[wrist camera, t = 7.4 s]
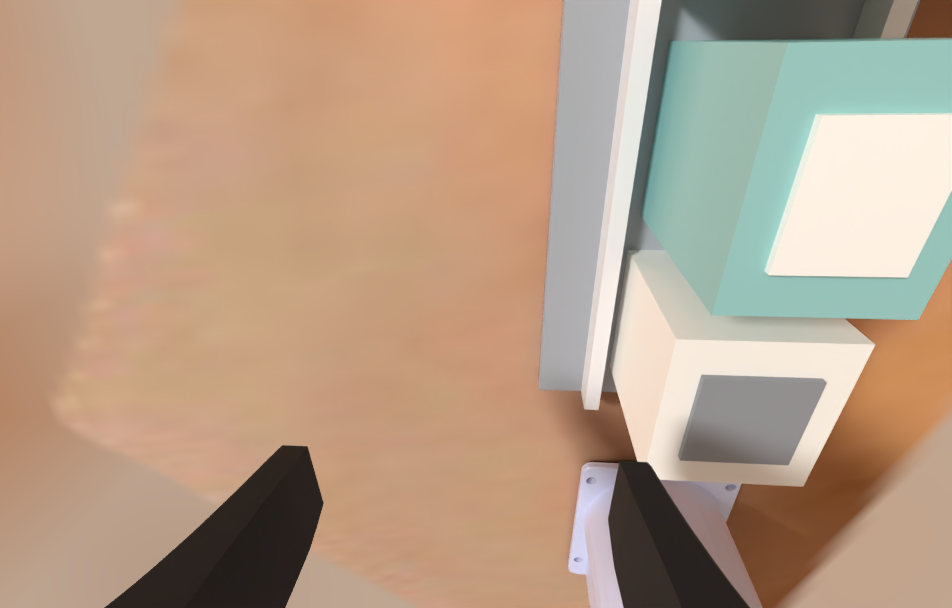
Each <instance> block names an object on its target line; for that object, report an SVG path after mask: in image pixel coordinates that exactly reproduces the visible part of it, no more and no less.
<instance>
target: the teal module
mask: <svg viewBox="0 0 952 608" xmlns="http://www.w3.org/2000/svg"><path fill="white" fill-rule="evenodd" d="M641 217H642V218H643V220H644V221H645V222H646V224H647V225H648V227H649V228H650V229H651V231H652V232H653V234H654V235H655V236H656V238H657V239H658V241H659V242H660V243H661V245H662V246H663V248H664V249H665V250H666V252H667V253H668V255H669V256H670V258H671V259H672V260H673V262H674V263H675V265H676V266H677V267H678V269H679V270H680V272H681V273H682V274H683V276H684V277H685V279H686V280H687V281H688V283H689V284H690V286H691V287H692V289H693V290H694V291H695V293H696V294H697V296H698V297H699V298H700V300H701V301H702V303H703V304H704V305H705V307H706V308H707V310H708V311H709V312H710V314H711V315H722V316H766V317H810V318H854V319H898V320H919V318H920V316H921V314H922V312H923V310H924V309H925V307H926V305H927V303H928V301H929V299H930V298H931V296H932V294H933V292H934V290H935V288H936V287H937V285H938V283H939V281H940V279H941V277H942V276H943V274H944V272H945V270H946V268H947V266H948V265H949V263H950V261H951V259H952V38H799V39H747V40H695V41H670V42H669V48H668V54H667V60H666V66H665V72H664V78H663V83H662V89H661V95H660V101H659V107H658V113H657V119H656V125H655V131H654V137H653V143H652V149H651V155H650V161H649V167H648V173H647V179H646V185H645V191H644V197H643V203H642V209H641Z"/></svg>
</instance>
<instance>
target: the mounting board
mask: <svg viewBox="0 0 952 608" xmlns="http://www.w3.org/2000/svg"><path fill="white" fill-rule="evenodd" d="M920 1H921V0H563V12H562V27H561V42H560V58H559V73H558V89H557V104H556V120H555V135H554V150H553V166H552V181H551V197H550V212H549V228H548V243H547V258H546V274H545V289H544V305H543V320H542V336H541V351H540V366H539V390H561V391H581V394H582V399H583V405H584V410H599V403H600V397H601V392H617V393H618V396H619V400H620V403H621V407H622V410H623V413H624V417H625V420H626V424H627V427H628V431H629V434H630V438H631V441H632V445H633V448H634V452H635V455H636V458H637V462H648V463H649V464H650V465H651V466H652V468H653V470H654V471H655V473H656V475H657V476H658V478H659V479H660V480H675V481H696V482H716V483H737V484H758V485H779V486H799V487H803V486H804V484H805V482H806V480H807V478H808V476H809V474H810V472H811V470H812V468H813V466H814V464H815V462H816V461H817V459H818V457H819V455H820V453H821V451H822V449H823V447H824V445H825V443H826V441H827V439H828V437H829V435H830V433H831V431H832V429H833V427H834V425H835V423H836V421H837V419H838V417H839V415H840V413H841V411H842V409H843V407H844V405H845V403H846V401H847V399H848V397H849V396H850V394H851V392H852V390H853V388H854V386H855V384H856V382H857V380H858V378H859V376H860V374H861V372H862V370H863V368H864V366H865V364H866V362H867V360H868V358H869V356H870V354H871V352H872V350H873V348H874V346H875V344H874V343H873V342H872V341H870V340H869V339H868V338H867V337H866V336H865V335H863V334H862V333H861V332H860V331H859V330H858V329H856V328H855V327H854V326H853V325H852V324H850V323H849V322H848V321H847V320H846V319H845V318H810V317H766V316H722V315H711V314H710V312H709V311H708V310H707V308H706V307H705V305H704V304H703V303H702V301H701V300H700V298H699V297H698V296H697V294H696V293H695V291H694V290H693V289H692V287H691V286H690V284H689V283H688V281H687V280H686V279H685V277H684V276H683V274H682V273H681V272H680V270H679V269H678V267H677V266H676V265H675V263H674V262H673V260H672V259H671V258H670V256H669V255H668V253H667V252H666V250H665V249H664V248H663V246H662V245H661V243H660V242H659V241H658V239H657V238H656V236H655V235H654V234H653V232H652V231H651V229H650V228H649V227H648V225H647V224H646V222H645V221H644V220H643V218H642V217H641V209H642V203H643V197H644V191H645V185H646V179H647V173H648V167H649V161H650V155H651V149H652V143H653V137H654V131H655V125H656V119H657V113H658V107H659V101H660V95H661V89H662V83H663V78H664V72H665V66H666V60H667V54H668V48H669V42H670V41H695V40H747V39H799V38H906V37H907V34H908V32H909V29H910V27H911V24H912V21H913V19H914V16H915V14H916V11H917V9H918V6H919V3H920Z"/></svg>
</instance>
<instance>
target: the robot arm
mask: <svg viewBox="0 0 952 608" xmlns="http://www.w3.org/2000/svg"><path fill="white" fill-rule="evenodd" d="M590 477H592V478H590ZM741 485H742V484H737V483H716V482H696V481H675V480H660V479H659V478H658V476H657V475H656V473H655V471H654V470H653V468H652V466H651V465H650V464H649V463H648V462H634V461H619V463H602V462H588V463H586V464H584V465H583V466H582V469H581V476H580V483H579V490H578V497H577V504H576V511H575V518H574V525H573V532H572V539H571V546H570V553H569V561H568V567H569V571H570V572H572V573H575V574H586V580H587V588H588V595H589V603H590V608H763V607H762V605H761V602H760V600H759V598H758V596H757V593H756V591H755V589H754V586H753V584H752V582H751V579H750V577H749V575H748V573H747V570H746V568H745V566H744V563H743V561H742V559H741V556H740V554H739V552H738V550H737V547H736V545H735V543H734V540H733V538H732V536H731V533H730V531H729V529H728V527H727V524H726V522H727V519H728V517H729V514H730V512H731V509H732V507H733V504H734V502H735V500H736V497H737V495H738V492H739V490H740V487H741ZM322 507H323V500H322V496H321V493H320V489H319V486H318V482H317V479H316V475H315V472H314V468H313V465H312V461H311V457H310V454H309V450H308V447H307V446H285V445H282V446H281V447H280V448H279V449H278V450H277V451H276V452H275V453H274V454H273V455H272V456H271V457H270V458H269V459H268V460H267V461H266V462H265V463H264V464H263V465H262V466H261V467H260V468H259V469H258V470H257V471H256V472H255V473H254V474H253V475H252V476H251V477H250V478H249V479H248V480H247V481H246V482H245V483H244V484H243V485H242V486H241V487H240V488H239V489H238V490H237V491H236V492H235V493H234V494H233V495H232V496H230V497H229V498H228V499H227V500H226V501H225V502H224V503H223V504H222V505H221V506H220V507H219V508H218V509H217V510H216V511H215V512H214V513H213V514H212V515H211V516H210V517H209V518H208V519H207V520H205V521H204V522H203V523H202V524H201V525H200V526H199V527H198V528H197V529H196V530H195V531H194V532H193V533H192V534H191V535H189V536H188V537H187V538H186V539H185V540H184V541H183V542H182V543H181V544H179V545H178V546H177V547H176V548H175V549H174V550H173V551H171V552H170V553H169V554H168V555H167V556H166V557H165V558H164V559H163V560H162V561H160V562H159V563H158V564H157V565H156V566H155V567H153V568H152V569H151V570H150V571H149V572H148V573H146V574H145V575H144V576H143V577H142V578H141V579H140V580H138V581H137V582H136V583H135V584H134V585H132V586H131V587H130V588H129V589H127V590H126V591H125V592H124V593H122V594H121V595H120V596H119V597H117V598H116V599H115V600H114V601H112V602H111V603H110V604H109V605H107V606H106V607H105V608H285V607H286V605H287V602H288V600H289V597H290V595H291V593H292V591H293V588H294V586H295V583H296V581H297V579H298V576H299V574H300V572H301V569H302V567H303V564H304V562H305V560H306V557H307V555H308V552H309V550H310V547H311V544H312V541H313V537H314V534H315V531H316V528H317V524H318V521H319V517H320V514H321V510H322Z"/></svg>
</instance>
